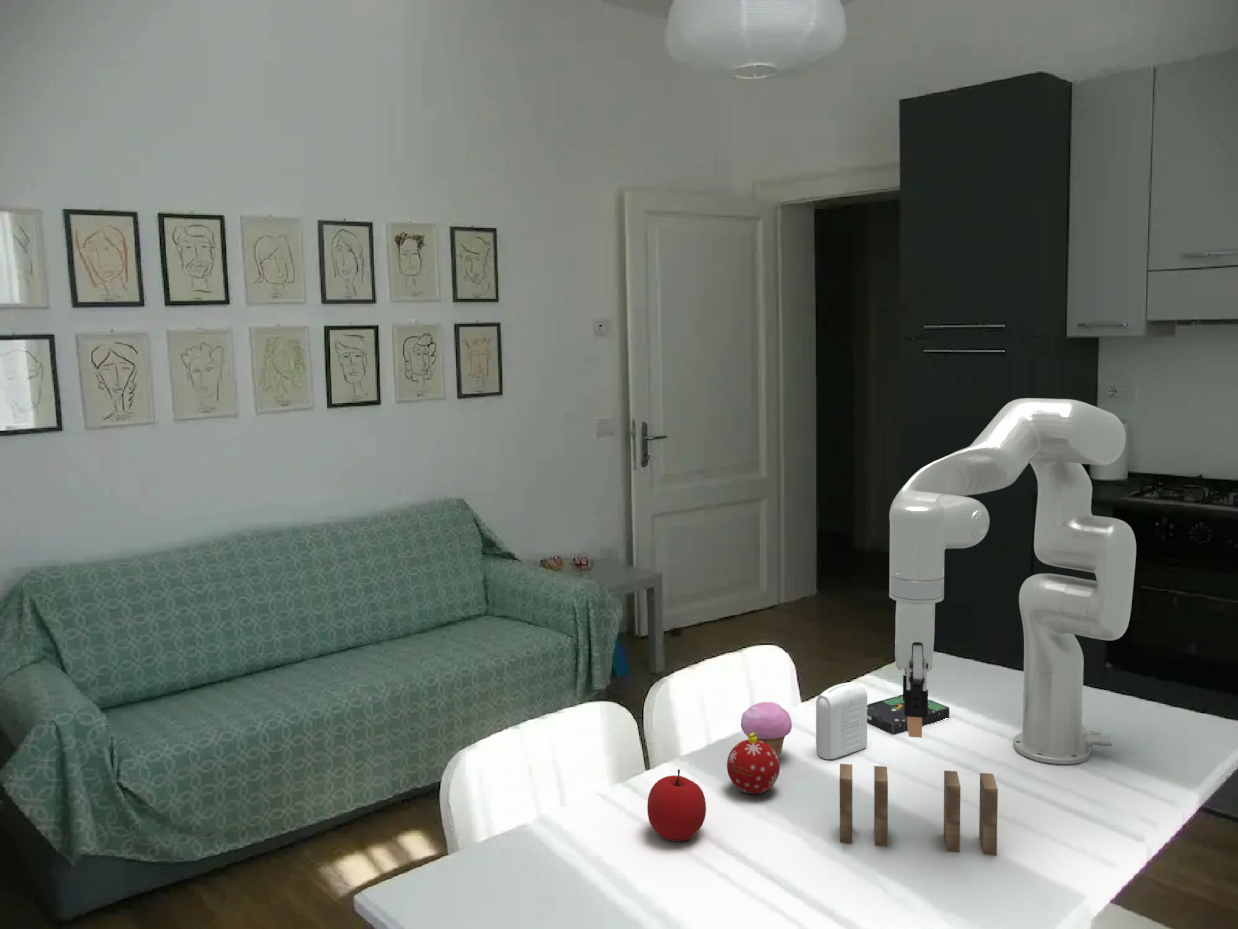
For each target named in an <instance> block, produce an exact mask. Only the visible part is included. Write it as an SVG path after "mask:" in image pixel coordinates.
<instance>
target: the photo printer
mask: <svg viewBox="0 0 1238 929" xmlns="http://www.w3.org/2000/svg"><path fill="white" fill-rule="evenodd" d="M867 693H868V692H867V691H866V688H865V687H864V686H863V685H862V684H859V683H855V682H844V683H838V684H836V685H833V686H831V687H829V688H827V689H825V690H824V691H822V693H820V694H819V695H818V696H817V698H816V701H815V703H816V704H815V706H816V707H815V716H816V718H815V733H816V734H815V746H816V747H815V750H816V753H817V755H818V757H819V758H822V759H824V760H828V761H829V760H834V759H838V758H841V757H844V756H846V755H850V754H852V753H854V752H858V751H860V750H864V749H865V748H867V745H868V723H867V704H868V694H867Z"/></svg>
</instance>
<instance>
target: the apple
mask: <svg viewBox="0 0 1238 929" xmlns="http://www.w3.org/2000/svg"><path fill="white" fill-rule="evenodd" d="M680 774H681V769H678V768H677V775H675V774H674V775H668V776H664V777H662V778H660V779H658V780H657V781H656V782H655V783H654V784H653V785H652V787H651V789H650V790H649V793H648V798H647V805H646V807H647V817H648V822H649V825H651V828H652V829H653V830H654V831H655V832H656V833H657V835H658V836H659V837H661V838H662V839H664V840H665V841H666V840H668V841H671V840H672V842H673V841H674V842H683V841H688V840H689V839H691V838H693V836H695V835H696V834H697V832H698V831H700V829H701V827H702V826H703V824H704V821H705V819H706V813H707V804H706V803H707V802H706V797H705V795H704V792H703V789H702V788H701V787H700V786H699V784H697V783H696V782H694V781H693V780H692V779H689V778H687V777H685V776H682V775H680Z"/></svg>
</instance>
